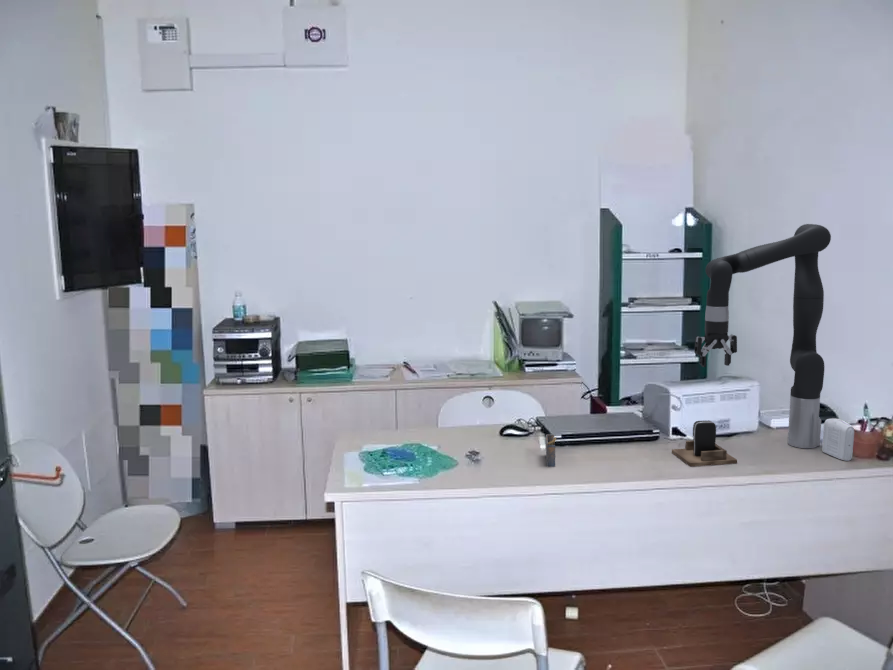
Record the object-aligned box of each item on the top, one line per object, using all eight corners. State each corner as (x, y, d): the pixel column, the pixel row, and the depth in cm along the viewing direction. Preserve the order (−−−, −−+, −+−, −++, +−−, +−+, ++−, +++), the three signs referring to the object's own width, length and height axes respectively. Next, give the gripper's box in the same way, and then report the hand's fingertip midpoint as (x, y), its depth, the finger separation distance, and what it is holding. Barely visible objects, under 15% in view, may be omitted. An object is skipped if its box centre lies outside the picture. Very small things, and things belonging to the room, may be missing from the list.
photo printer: (854, 460, 250) (857, 423, 248) (843, 461, 249) (846, 424, 246) (830, 450, 260) (832, 415, 257) (819, 452, 258) (822, 416, 256)
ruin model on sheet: (556, 467, 250) (556, 439, 249) (547, 467, 251) (547, 439, 249) (555, 456, 261) (555, 428, 260) (546, 456, 262) (546, 428, 260)
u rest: (716, 449, 263) (716, 437, 262) (737, 463, 249) (737, 450, 249) (671, 452, 261) (671, 440, 260) (690, 466, 247) (690, 454, 246)
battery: (711, 452, 257) (713, 419, 255) (715, 456, 253) (717, 422, 251) (690, 452, 257) (691, 419, 255) (694, 456, 253) (695, 422, 251)
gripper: (731, 316, 265) (729, 362, 268) (691, 318, 263) (690, 364, 266) (742, 319, 258) (740, 367, 260) (702, 321, 256) (700, 369, 258)
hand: (715, 365), depth 263 cm, fingers open, 8 cm apart
